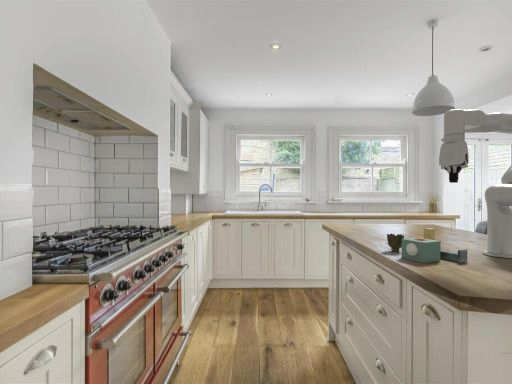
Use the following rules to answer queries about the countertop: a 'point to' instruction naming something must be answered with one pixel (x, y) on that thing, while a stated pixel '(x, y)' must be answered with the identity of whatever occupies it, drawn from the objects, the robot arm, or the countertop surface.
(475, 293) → the countertop surface
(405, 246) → the green box
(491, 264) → the countertop surface
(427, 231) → the carriage
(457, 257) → the rail
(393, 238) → the cup
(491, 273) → the countertop surface
